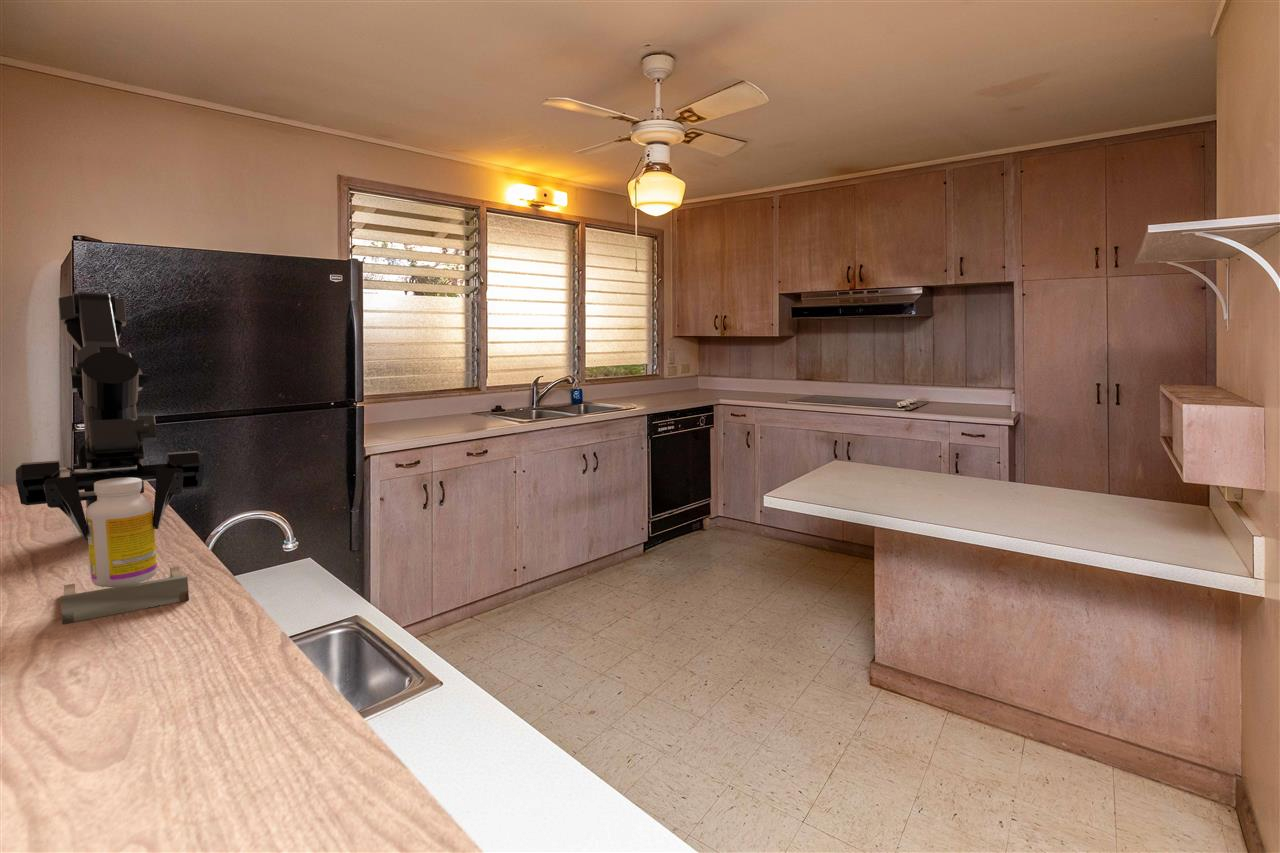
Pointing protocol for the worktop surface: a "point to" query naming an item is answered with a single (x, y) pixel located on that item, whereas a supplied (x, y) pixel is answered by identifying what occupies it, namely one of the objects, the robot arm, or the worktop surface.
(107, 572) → the supplement bottle
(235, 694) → the worktop surface
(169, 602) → the u-shaped frame
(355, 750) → the worktop surface
